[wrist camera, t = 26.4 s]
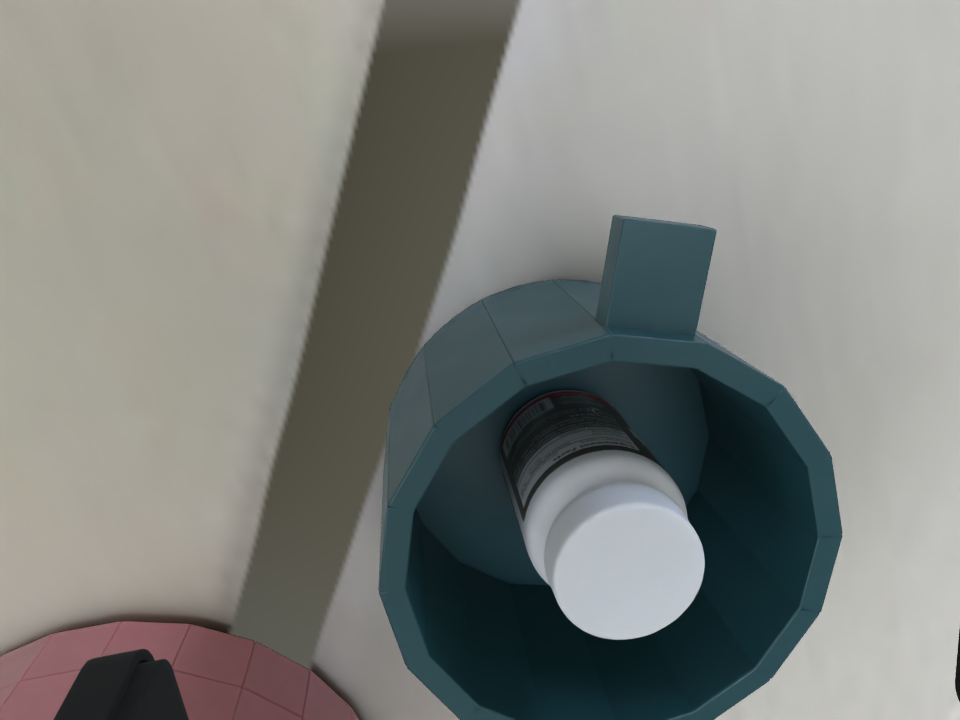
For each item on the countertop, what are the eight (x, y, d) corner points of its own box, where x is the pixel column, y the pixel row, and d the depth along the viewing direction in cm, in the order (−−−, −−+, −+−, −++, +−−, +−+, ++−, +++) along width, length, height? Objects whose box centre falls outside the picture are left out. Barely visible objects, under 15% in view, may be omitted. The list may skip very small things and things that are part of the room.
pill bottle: (629, 498, 28) (722, 641, 20) (503, 515, 28) (547, 668, 20) (624, 378, 26) (722, 480, 18) (492, 394, 26) (534, 505, 18)
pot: (366, 646, 29) (355, 826, 21) (411, 178, 24) (417, 195, 17) (670, 657, 31) (760, 828, 23) (767, 222, 26) (921, 255, 18)
